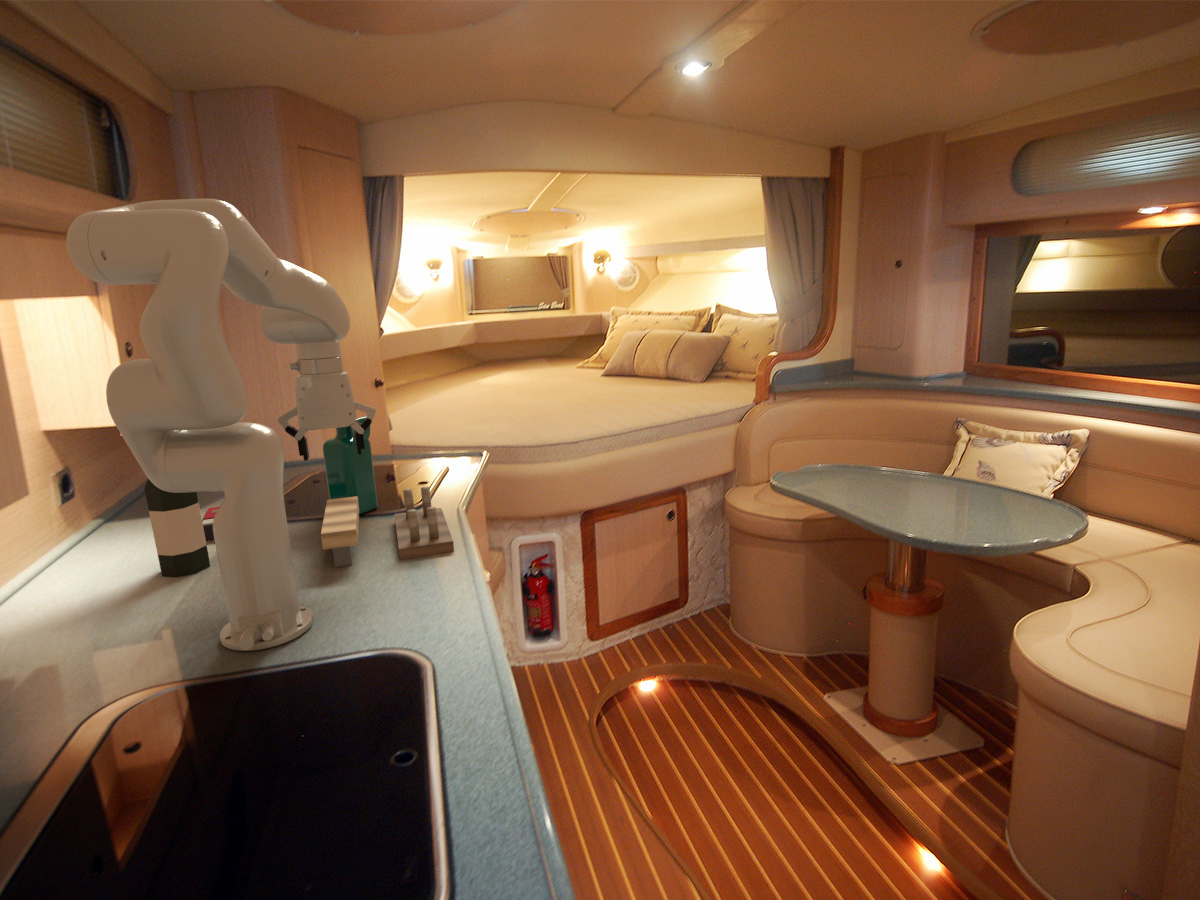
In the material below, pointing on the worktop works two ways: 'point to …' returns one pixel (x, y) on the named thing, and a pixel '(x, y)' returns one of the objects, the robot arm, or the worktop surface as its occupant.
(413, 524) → the peg stand
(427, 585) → the worktop surface
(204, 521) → the calculator
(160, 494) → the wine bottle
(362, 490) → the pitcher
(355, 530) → the wooden block
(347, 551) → the block
